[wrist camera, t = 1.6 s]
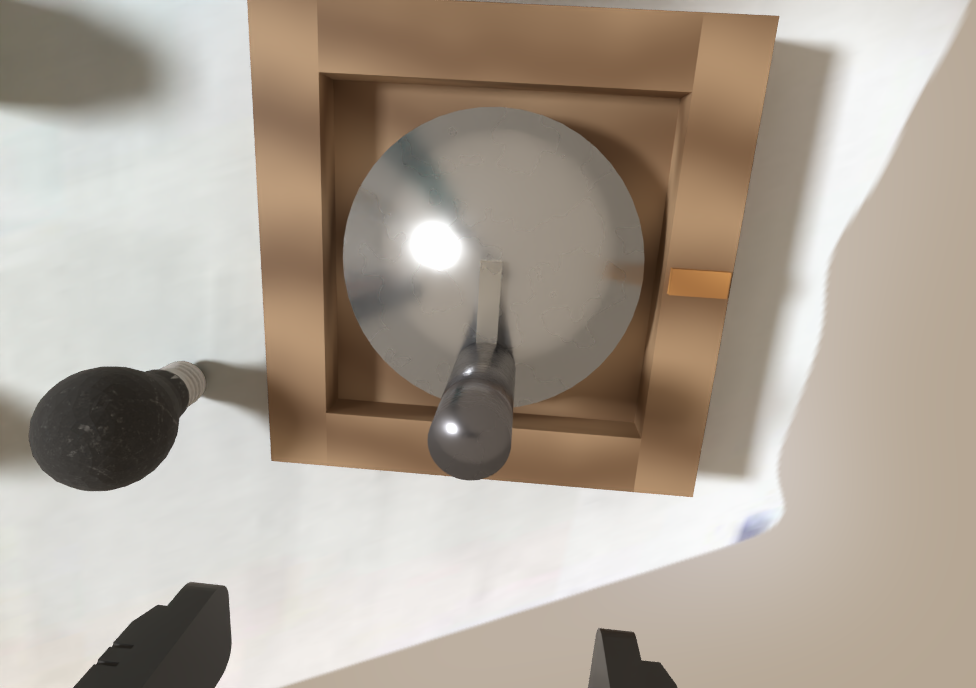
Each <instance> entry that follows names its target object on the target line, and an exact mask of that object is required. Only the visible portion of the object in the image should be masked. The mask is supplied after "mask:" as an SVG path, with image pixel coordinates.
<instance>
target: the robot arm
mask: <svg viewBox="0 0 976 688" xmlns="http://www.w3.org/2000/svg"><path fill="white" fill-rule="evenodd" d="M230 652H231V626H230V610H229V595H228V590H227V588H226V587H225V586H223V585H213V584H204V583H195V582H189V583H187V584H186V585H185V586H184V587H183V588H182V589H181V590H180V591H179V593H178V594H177V595H176V596H175V597H174V599H173V600H172V601H171V602H170V603H169V604H168V606H163V605H157V606H155V607H154V608H152V609H151V610H149V611H148V612H146V613H145V614H143V615H142V616H140V617H139V618H137V619H136V620H134V621H133V622H131V624H130V625H129V626H128V627H127V628H126V629H125V630H124V631H123V632H122V634H121V635H120V636H119V637H118V638H117V639H116V640H115V641H114V643H113V646H112V647H109V648H108V649H107V650H106V651H105V653H104V654H103V655H102V656H101V657H100V658H99V659H98V662H97V664H96V665H95V664H94V665H93V666H92V667H91V668H90V669H89V671H88V672H87V673H86V674H85V675H84V676H83V677H82V678H81V679H80V681H79V682H78V683H77V684H76V685H75V686H74V687H73V688H215V686H216V685H217V683H218V682H219V680H220V678H221V677H222V675H223V673H224V671H225V669H226V666H227V663H228V660H229V657H230ZM588 688H677V685H676V684H675V682H674V681H673V680H672V679H671V677H670V676H669V674H668V673H667V671H666V670H665V669H664V668H663V666H662V665H661V663H659V662H650V661H641V657H640V652H639V648H638V644H637V639H636V636H635V634H634V632H629V631H620V630H611V629H602V628H598V630H597V633H596V639H595V645H594V652H593V658H592V665H591V672H590V678H589V685H588Z"/></svg>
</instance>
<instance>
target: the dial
mask: <svg viewBox="0 0 976 688" xmlns="http://www.w3.org/2000/svg"><path fill="white" fill-rule="evenodd" d="M343 267H344V279H345V284H346V288H347V293H348V297H349V300H350V303H351V306H352V309H353V312H354V315H355V317H356V319H357V321H358V323H359V325H360V327H361V329H362V331H363V333H364V334H365V336H366V337H367V339H368V340H369V342H370V344H371V345H372V347H373V348H374V349H375V350H376V352H377V353H378V354H379V355H380V356H381V357H382V359H383V360H384V361H385V362H386V363H387V364H388V365H389V366H390V367H391V368H392V369H394V370H395V371H396V372H397V373H398V374H399V375H400V376H402V377H403V378H405V379H406V380H407V381H409V382H410V383H411V384H413V385H414V386H416V387H418V388H420V389H422V390H424V391H425V392H427V393H429V394H431V395H434V396H436V397H439V398H441V400H440V403H439V405H438V408H437V411H436V413H435V416H434V418H433V421H432V423H431V426H430V429H429V432H428V439H427V441H428V449H429V452H430V455H431V457H432V459H433V460H434V462H435V463H436V464H437V466H438V467H439V468H440V469H441V470H443V471H444V472H445V473H447V474H449V475H451V476H453V477H455V478H458V479H462V480H480V479H484V478H487V477H489V476H491V475H493V474H495V473H496V472H497V471H499V470H500V469H501V468H502V467H503V465H504V464H505V463H506V461H507V459H508V457H509V454H510V451H511V441H512V424H513V408H514V407H520V406H524V405H529V404H533V403H537V402H540V401H543V400H546V399H548V398H551V397H554V396H556V395H558V394H560V393H562V392H564V391H566V390H568V389H570V388H572V387H573V386H574V385H576V384H577V383H579V382H580V381H582V380H583V379H585V378H586V377H587V376H589V375H590V374H591V373H592V372H593V371H594V370H595V369H597V368H598V367H599V366H600V365H601V364H602V363H603V362H604V361H605V359H606V358H607V357H608V356H609V355H610V354H611V353H612V351H613V350H614V349H615V347H616V346H617V344H618V343H619V341H620V340H621V338H622V337H623V335H624V334H625V332H626V330H627V328H628V326H629V324H630V322H631V320H632V318H633V315H634V312H635V309H636V306H637V303H638V300H639V297H640V292H641V287H642V282H643V274H644V244H643V235H642V231H641V226H640V221H639V217H638V214H637V211H636V208H635V205H634V203H633V200H632V198H631V196H630V194H629V192H628V190H627V188H626V186H625V184H624V182H623V180H622V179H621V177H620V176H619V174H618V173H617V172H616V170H615V169H614V167H613V166H612V164H611V163H610V162H609V161H608V160H607V159H606V158H605V157H604V156H603V154H602V153H601V152H600V151H599V150H598V149H597V148H596V147H595V146H593V145H592V144H591V143H590V142H589V141H587V140H586V139H585V138H584V137H582V136H581V135H580V134H578V133H577V132H575V131H573V130H572V129H570V128H568V127H567V126H565V125H564V124H562V123H560V122H557V121H555V120H553V119H550V118H548V117H546V116H543V115H540V114H536V113H533V112H529V111H525V110H521V109H514V108H506V107H478V108H472V109H465V110H459V111H456V112H452V113H449V114H446V115H442V116H439V117H437V118H435V119H433V120H430V121H428V122H426V123H424V124H422V125H420V126H418V127H417V128H415V129H414V130H412V131H410V132H409V133H407V134H406V135H404V136H403V137H402V138H400V139H399V140H398V141H397V142H396V143H395V144H393V145H392V146H391V147H390V148H389V149H388V150H387V151H386V152H385V153H384V154H383V155H382V156H381V158H380V159H379V160H378V161H377V162H376V163H375V164H374V165H373V167H372V169H371V170H370V172H369V173H368V175H367V176H366V178H365V179H364V181H363V182H362V184H361V186H360V188H359V190H358V192H357V195H356V197H355V199H354V201H353V204H352V207H351V210H350V213H349V216H348V219H347V225H346V230H345V235H344V246H343Z"/></svg>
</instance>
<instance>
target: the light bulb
mask: <svg viewBox="0 0 976 688" xmlns="http://www.w3.org/2000/svg"><path fill="white" fill-rule="evenodd" d="M205 388H206V380H205V377H204V375H203V373H202V372H201V370H200V369H199V368H198V367H197V366H195V365H194V364H192V363H189V362H186V361H178V362H173V363H170V364H168V365H167V366H165V367H163V368H161V369H159V370H150V371H146V372H143V371H139V370H135V369H131V368H127V367H98V368H94V369H89V370H84V371H81V372H78V373H76V374H73V375H71V376H69V377H67V378H66V379H64V380H62V381H60V382H59V383H58V384H56V385H55V386H54V387H53V388H51V389H50V390H49V391H48V392H47V393H46V395H45V396H44V397H43V398H42V399H41V401H40V402H39V403H38V405H37V407H36V409H35V411H34V413H33V416H32V418H31V422H30V430H29V442H30V446H31V450H32V454H33V457H34V458H35V460H36V461H37V463H38V464H39V466H40V467H41V469H42V470H43V471H44V472H46V473H47V474H48V475H49V476H50V477H52V478H53V479H54V480H55V481H57V482H59V483H62V484H64V485H67V486H70V487H72V488H76V489H79V490H84V491H108V490H113V489H117V488H121V487H125V486H127V485H130V484H132V483H134V482H137V481H139V480H141V479H143V478H144V477H145V476H147V475H148V474H150V473H151V472H152V471H154V470H155V469H156V468H157V467H158V466H159V464H160V463H161V462H162V461H163V460H164V459H165V458H166V457H167V455H168V453H169V451H170V449H171V448H172V446H173V444H174V442H175V438H176V436H177V432H178V425H179V418H180V416H181V415H182V414H183V413H184V412H185V410H186V409H187V407H188V406H190V405H191V404H192V403H194V402H196V401H197V400H198V399H199V397H201V396H202V395H203V393H204V392H205Z"/></svg>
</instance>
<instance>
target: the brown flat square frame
mask: <svg viewBox="0 0 976 688" xmlns="http://www.w3.org/2000/svg"><path fill="white" fill-rule="evenodd" d="M247 3H248V22H249V41H250V60H251V79H252V98H253V117H254V137H255V156H256V175H257V194H258V213H259V232H260V251H261V270H262V289H263V308H264V327H265V346H266V365H267V384H268V403H269V423H270V442H271V461H279V462H291V463H303V464H314V465H326V466H337V467H349V468H361V469H372V470H384V471H396V472H407V473H419V474H430V475H442V476H451V475H449V474H447V473H445V472H444V471H443V470H441V469H440V468H439V467H438V466H437V464H436V463H435V462H434V460H433V459H432V457H431V455H430V452H429V449H428V441H427V439H428V432H429V429H430V426H431V423H432V421H433V418H434V416H435V413H436V411H437V408H438V405H439V403H440V400H441V398H439V397H436V396H434V395H431V394H429V393H427V392H425V391H424V390H422V389H420V388H418V387H416V386H414V385H413V384H411V383H410V382H409V381H407V380H406V379H405V378H403V377H402V376H400V375H399V374H398V373H397V372H396V371H395V370H394V369H392V368H391V367H390V366H389V365H388V364H387V363H386V362H385V361H384V360H383V359H382V357H381V356H380V355H379V354H378V353H377V352H376V350H375V349H374V348H373V347H372V345H371V344H370V342H369V340H368V339H367V337H366V336H365V334H364V333H363V331H362V329H361V327H360V325H359V323H358V321H357V319H356V317H355V315H354V312H353V309H352V306H351V303H350V300H349V297H348V293H347V288H346V284H345V279H344V267H343V246H344V235H345V230H346V225H347V219H348V216H349V213H350V210H351V207H352V204H353V201H354V199H355V197H356V195H357V192H358V190H359V188H360V186H361V184H362V182H363V181H364V179H365V178H366V176H367V175H368V173H369V172H370V170H371V169H372V167H373V165H374V164H375V163H376V162H377V161H378V160H379V159H380V158H381V156H382V155H383V154H384V153H385V152H386V151H387V150H388V149H389V148H390V147H391V146H392V145H393V144H395V143H396V142H397V141H398V140H399V139H400V138H402V137H403V136H404V135H406V134H407V133H409V132H410V131H412V130H414V129H415V128H417V127H418V126H420V125H422V124H424V123H426V122H428V121H430V120H433V119H435V118H437V117H439V116H442V115H446V114H449V113H452V112H456V111H459V110H465V109H472V108H478V107H506V108H514V109H521V110H525V111H529V112H533V113H536V114H540V115H543V116H546V117H548V118H550V119H553V120H555V121H557V122H560V123H562V124H564V125H565V126H567V127H568V128H570V129H572V130H573V131H575V132H577V133H578V134H580V135H581V136H582V137H584V138H585V139H586V140H587V141H589V142H590V143H591V144H592V145H593V146H595V147H596V148H597V149H598V150H599V151H600V152H601V153H602V154H603V156H604V157H605V158H606V159H607V160H608V161H609V162H610V163H611V164H612V166H613V167H614V169H615V170H616V172H617V173H618V174H619V176H620V177H621V179H622V180H623V182H624V184H625V186H626V188H627V190H628V192H629V194H630V196H631V198H632V200H633V203H634V205H635V208H636V211H637V214H638V217H639V221H640V226H641V231H642V235H643V244H644V274H643V282H642V287H641V292H640V297H639V300H638V303H637V306H636V309H635V312H634V315H633V318H632V320H631V322H630V324H629V326H628V328H627V330H626V332H625V334H624V335H623V337H622V338H621V340H620V341H619V343H618V344H617V346H616V347H615V349H614V350H613V351H612V353H611V354H610V355H609V356H608V357H607V358H606V359H605V361H604V362H603V363H602V364H601V365H600V366H599V367H598V368H597V369H595V370H594V371H593V372H592V373H591V374H590V375H589V376H587V377H586V378H585V379H583V380H582V381H580V382H579V383H577V384H576V385H574V386H573V387H572V388H570V389H568V390H566V391H564V392H562V393H560V394H558V395H556V396H554V397H551V398H548V399H546V400H543V401H540V402H537V403H533V404H529V405H524V406H520V407H514V408H513V424H512V441H511V451H510V454H509V457H508V459H507V461H506V463H505V464H504V465H503V467H502V468H501V469H500V470H499V471H497V472H496V473H495V474H493V475H491V476H489V477H487V478H484V479H489V480H500V481H512V482H523V483H535V484H547V485H558V486H570V487H582V488H593V489H605V490H616V491H628V492H640V493H651V494H663V495H675V496H686V497H693V492H694V487H695V481H696V476H697V470H698V465H699V459H700V454H701V448H702V442H703V437H704V431H705V426H706V420H707V415H708V409H709V404H710V398H711V393H712V387H713V381H714V376H715V370H716V365H717V359H718V354H719V348H720V343H721V337H722V331H723V326H724V320H725V315H726V309H727V304H728V298H729V293H730V287H731V281H732V276H733V270H734V265H735V259H736V254H737V248H738V243H739V237H740V232H741V226H742V220H743V215H744V209H745V204H746V198H747V193H748V187H749V182H750V176H751V170H752V165H753V159H754V154H755V148H756V143H757V137H758V132H759V126H760V121H761V115H762V109H763V104H764V98H765V93H766V87H767V82H768V76H769V71H770V65H771V59H772V54H773V48H774V43H775V37H776V32H777V26H778V21H779V16H769V15H748V14H727V13H706V12H685V11H664V10H643V9H622V8H601V7H580V6H559V5H538V4H517V3H496V2H475V1H454V0H247Z"/></svg>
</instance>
